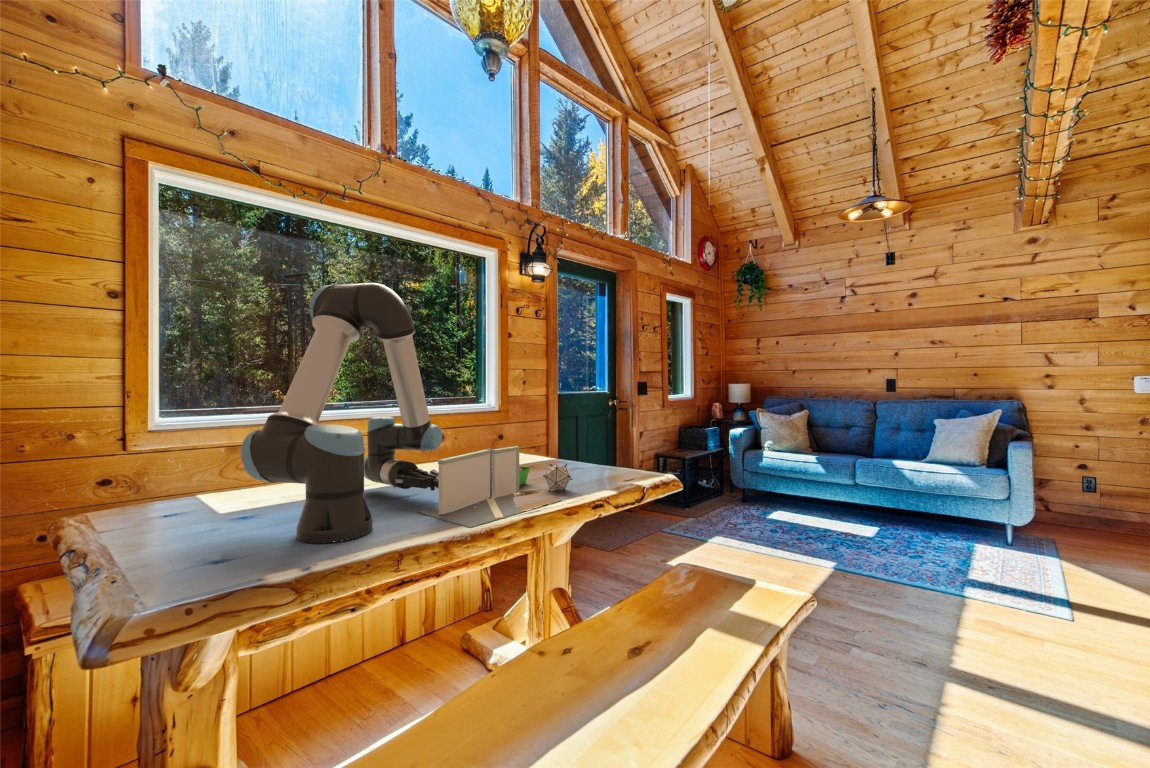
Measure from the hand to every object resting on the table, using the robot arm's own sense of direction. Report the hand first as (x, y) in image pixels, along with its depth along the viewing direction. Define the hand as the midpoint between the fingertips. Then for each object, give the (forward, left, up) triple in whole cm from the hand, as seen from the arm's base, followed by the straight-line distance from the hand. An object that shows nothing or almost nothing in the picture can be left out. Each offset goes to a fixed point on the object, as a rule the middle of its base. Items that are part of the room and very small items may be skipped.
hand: (453, 485), depth 131 cm
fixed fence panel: (+20, +2, -6) cm, 21 cm away
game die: (+34, -6, -7) cm, 35 cm away
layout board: (+9, -5, -6) cm, 12 cm away
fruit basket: (+30, +10, -7) cm, 32 cm away
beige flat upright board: (+4, 0, -6) cm, 8 cm away
